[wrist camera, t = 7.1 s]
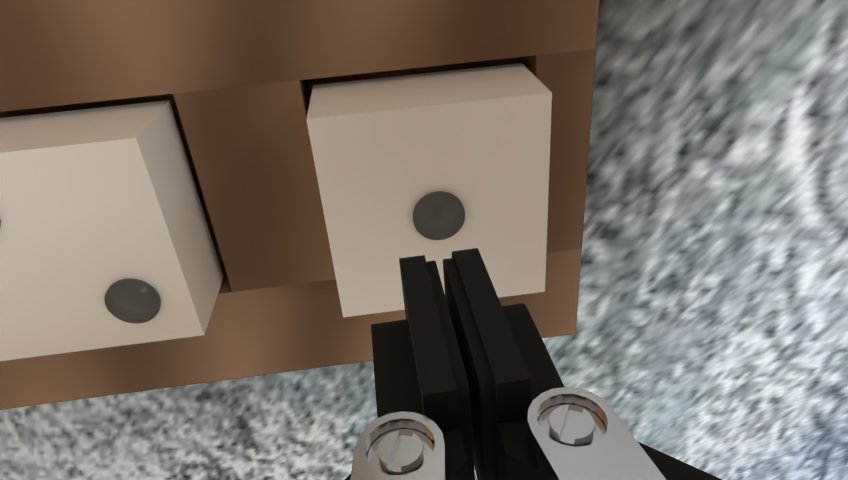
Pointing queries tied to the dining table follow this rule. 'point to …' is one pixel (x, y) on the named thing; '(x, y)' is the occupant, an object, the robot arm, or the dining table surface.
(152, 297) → the tile two
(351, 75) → the panel
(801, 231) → the dining table surface
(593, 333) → the dining table surface
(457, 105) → the tile one
